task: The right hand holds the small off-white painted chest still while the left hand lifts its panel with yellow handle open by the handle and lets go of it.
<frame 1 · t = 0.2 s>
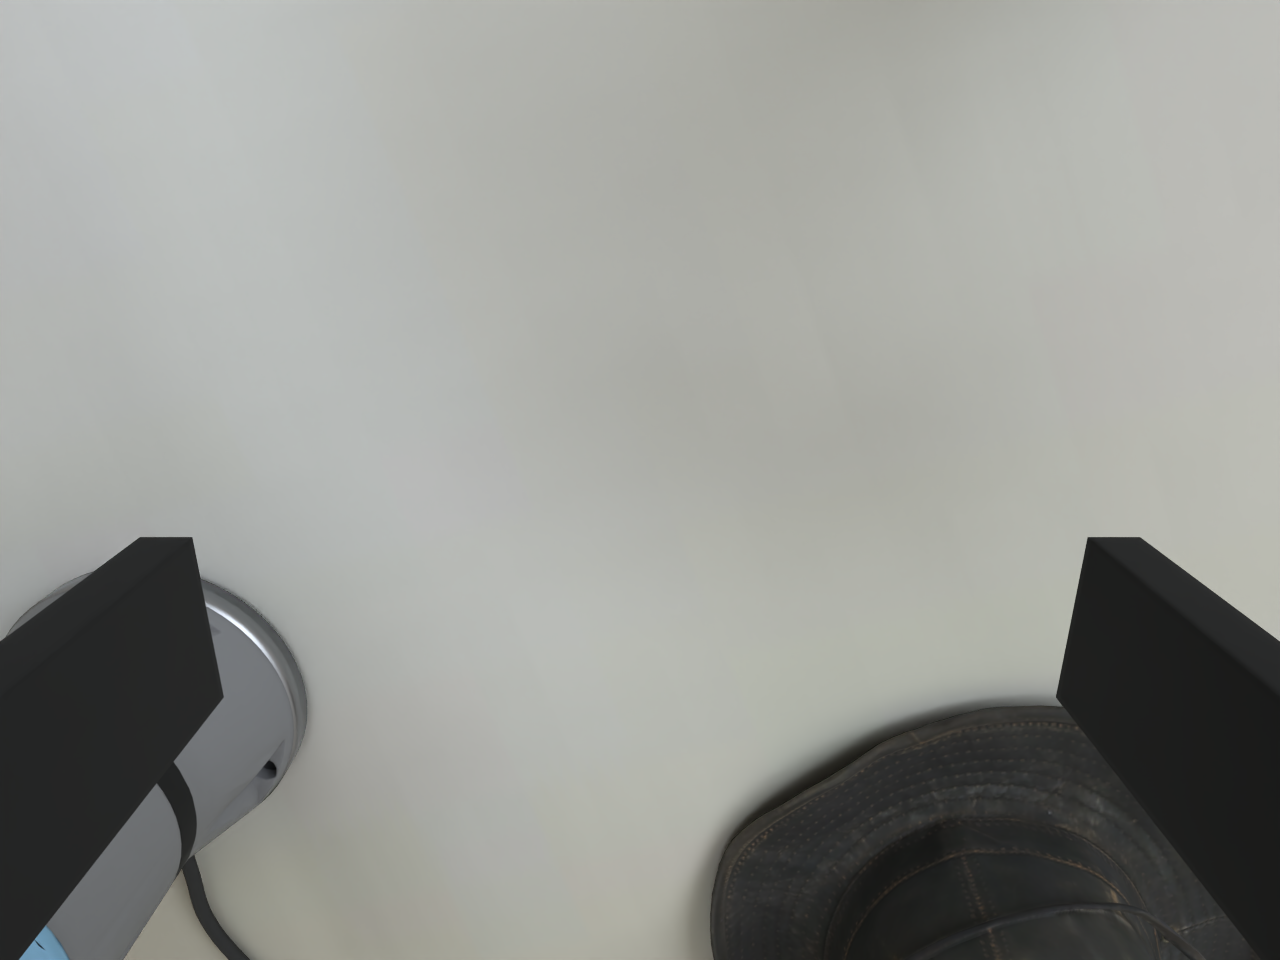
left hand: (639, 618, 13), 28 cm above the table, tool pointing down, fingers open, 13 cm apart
hat: (976, 939, 52), on the table
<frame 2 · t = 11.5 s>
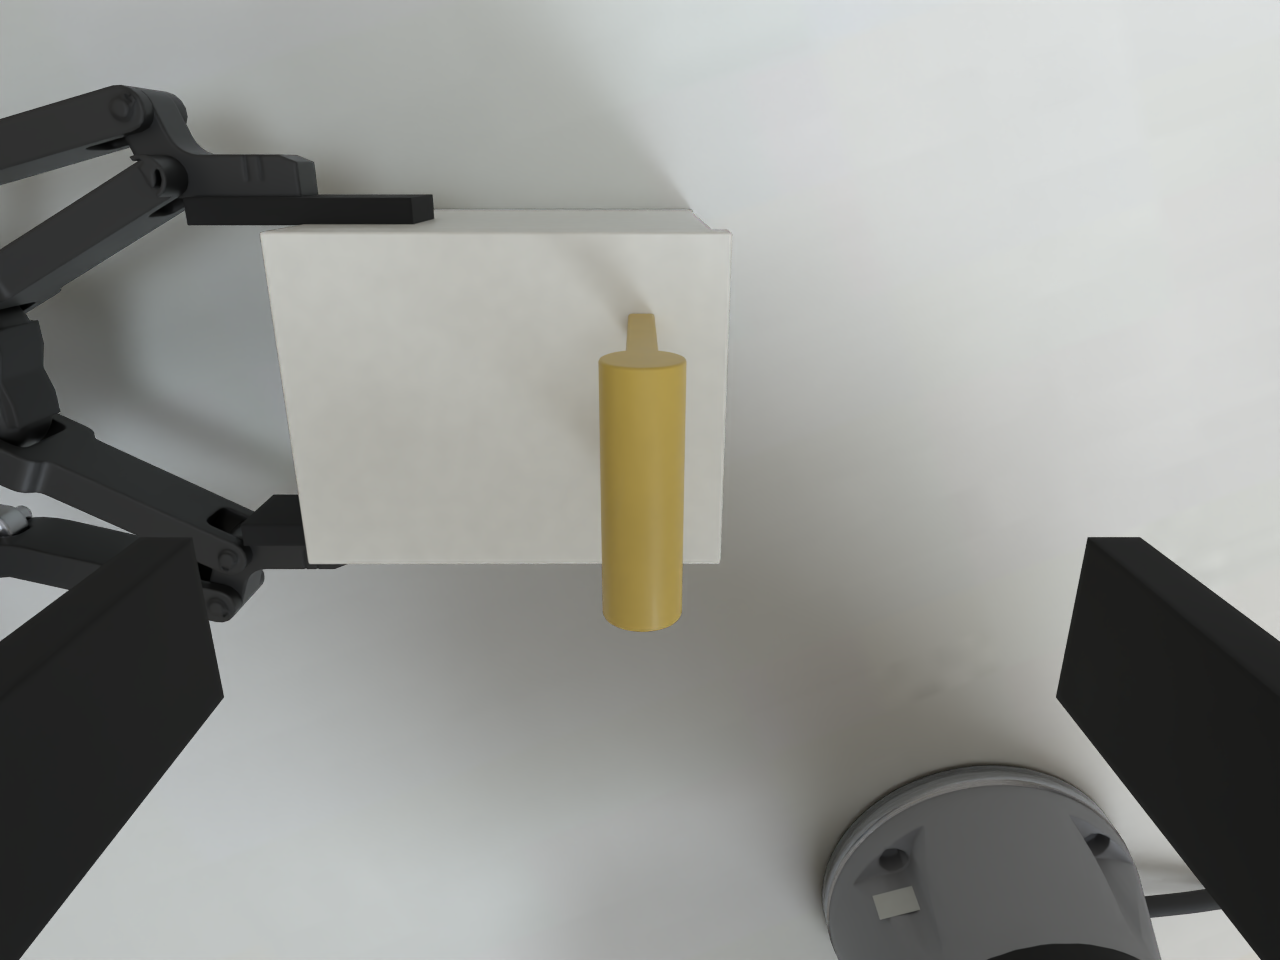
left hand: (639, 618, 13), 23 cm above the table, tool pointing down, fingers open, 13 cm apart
chest: (542, 332, 34), on the table, touching right hand
panel with yellow handle: (486, 444, 21), point 15 cm above the table, hinge at 0.0°
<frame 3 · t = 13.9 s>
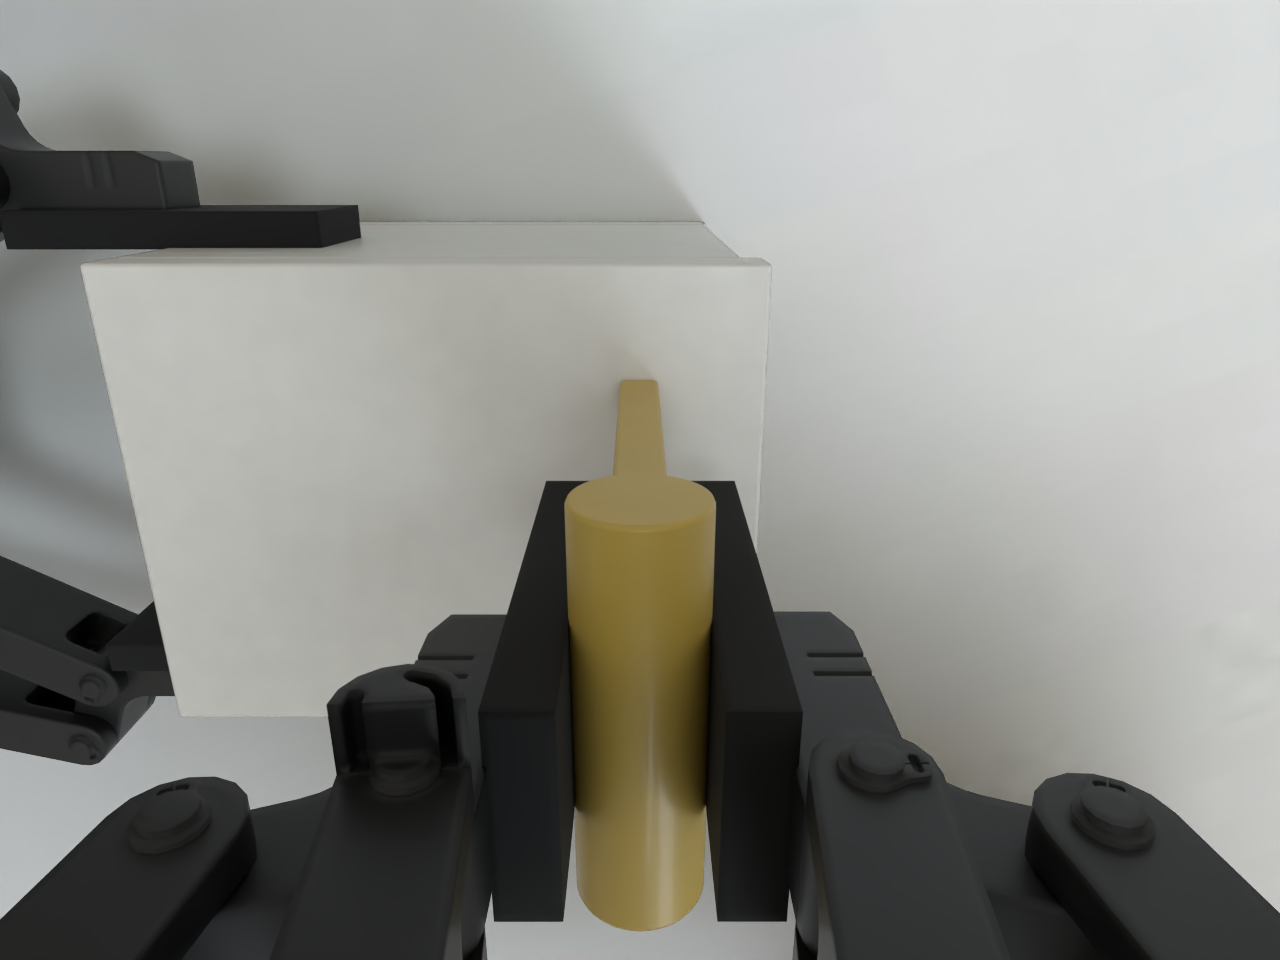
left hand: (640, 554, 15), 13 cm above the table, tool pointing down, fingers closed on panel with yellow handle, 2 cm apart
chest: (515, 375, 27), on the table, touching right hand
panel with yellow handle: (406, 586, 14), point 15 cm above the table, hinge at -0.1°, touching left hand
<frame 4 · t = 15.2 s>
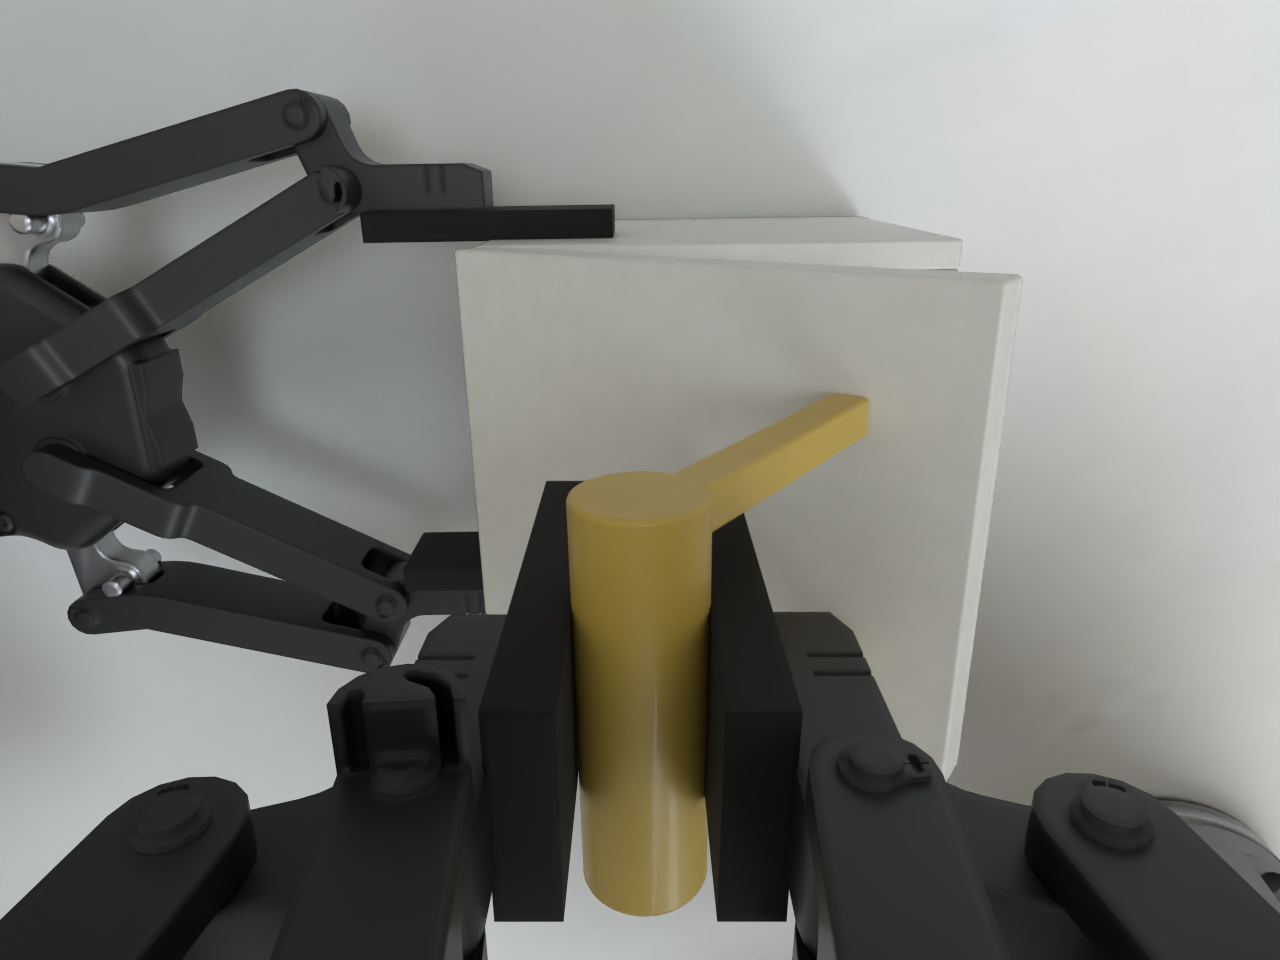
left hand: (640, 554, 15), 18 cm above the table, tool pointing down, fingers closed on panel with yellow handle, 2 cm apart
right hand: (617, 400, 25), fingers closed on chest, 9 cm apart
chest: (693, 351, 32), on the table, touching right hand
panel with yellow handle: (578, 544, 15), point 17 cm above the table, hinge at 35.6°, touching left hand
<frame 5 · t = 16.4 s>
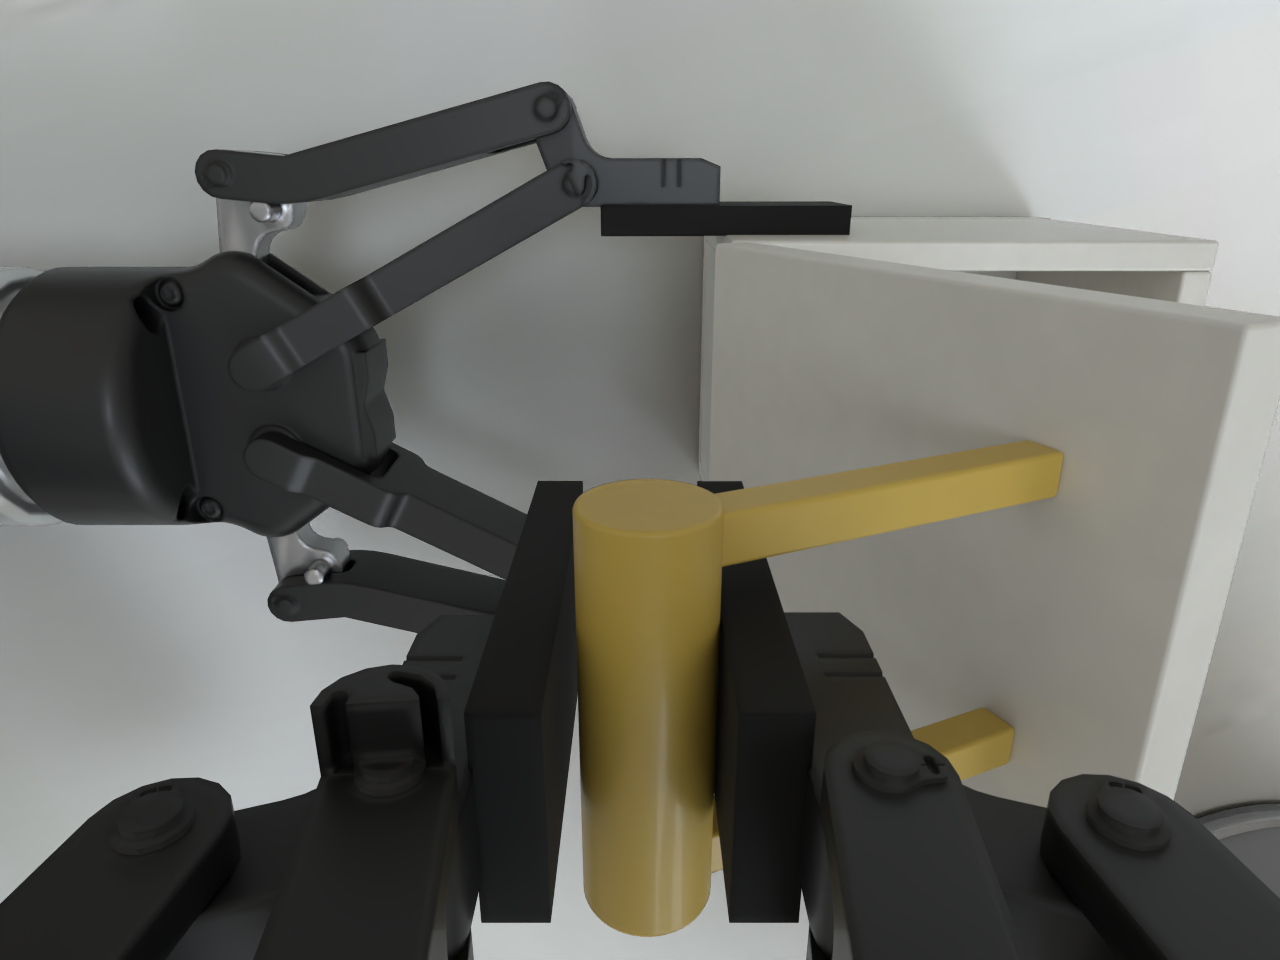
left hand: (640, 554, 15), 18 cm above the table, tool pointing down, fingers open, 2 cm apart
right hand: (825, 396, 25), fingers closed on chest, 9 cm apart
chest: (858, 349, 32), on the table, touching right hand
panel with yellow handle: (722, 551, 15), point 18 cm above the table, hinge at 64.7°
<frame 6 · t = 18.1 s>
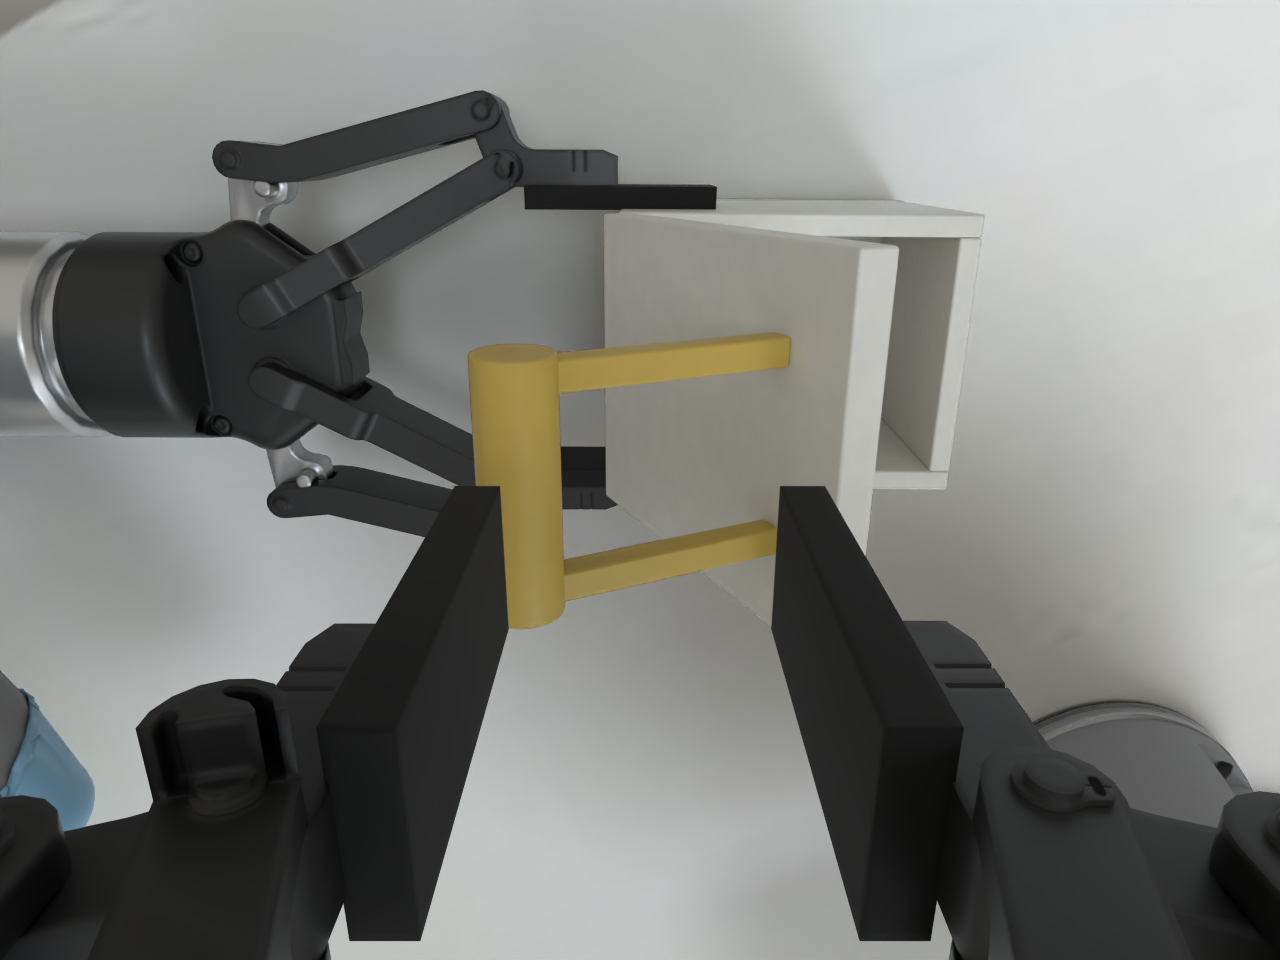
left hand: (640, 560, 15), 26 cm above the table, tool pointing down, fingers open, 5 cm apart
right hand: (708, 339, 32), fingers closed on chest, 9 cm apart
chest: (755, 309, 39), on the table, touching right hand
panel with yellow handle: (591, 421, 22), point 18 cm above the table, hinge at 62.9°
when the right hand's fingers open (7 cm above the table, at t = 20.2 s): chest stays where it is, on the table.
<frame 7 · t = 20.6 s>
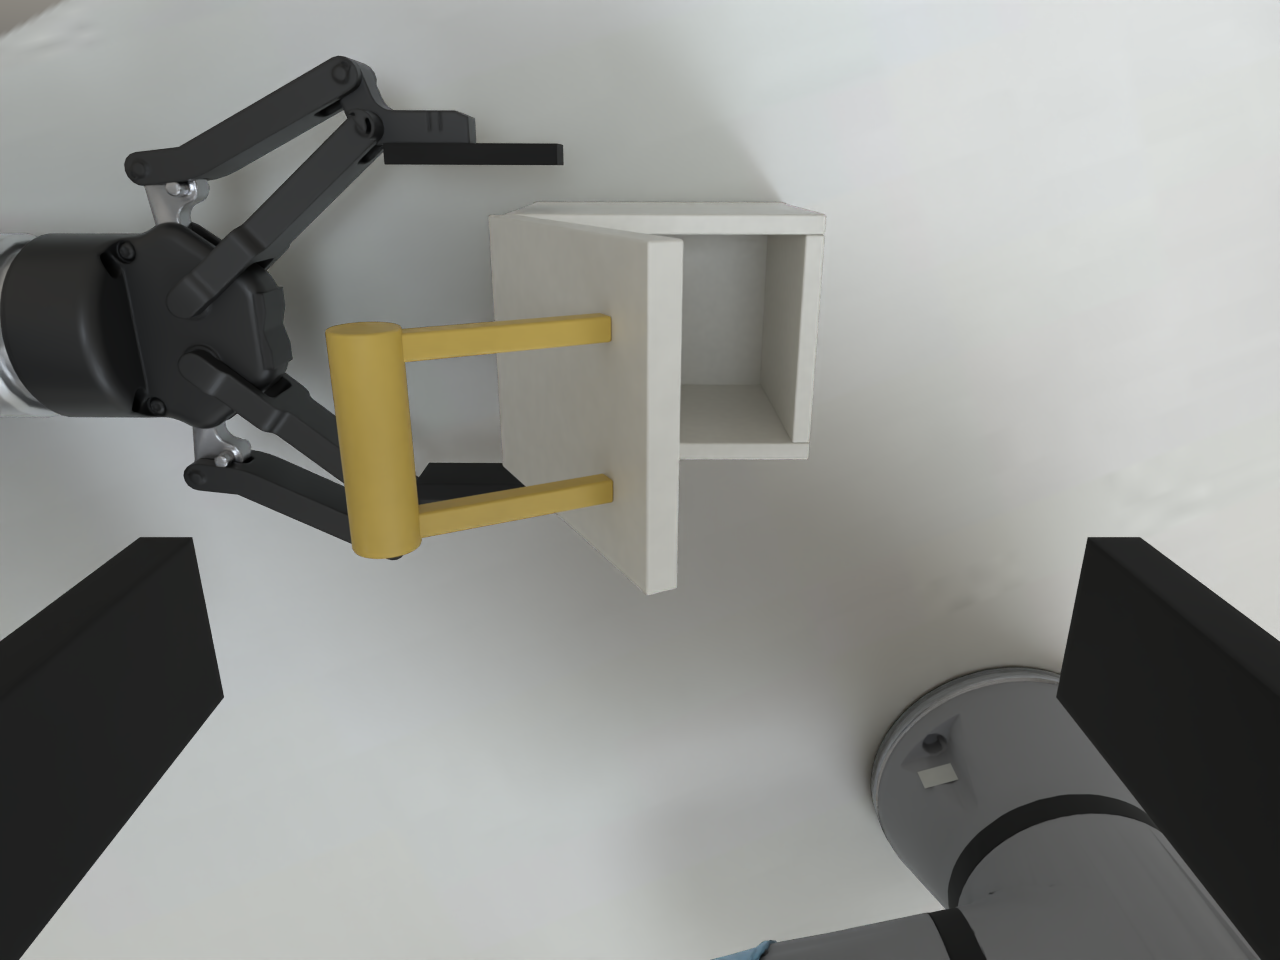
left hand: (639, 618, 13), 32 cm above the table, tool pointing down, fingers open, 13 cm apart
right hand: (566, 328, 36), fingers open, 13 cm apart
chest: (658, 302, 42), on the table
panel with yellow handle: (460, 392, 25), point 18 cm above the table, hinge at 62.6°
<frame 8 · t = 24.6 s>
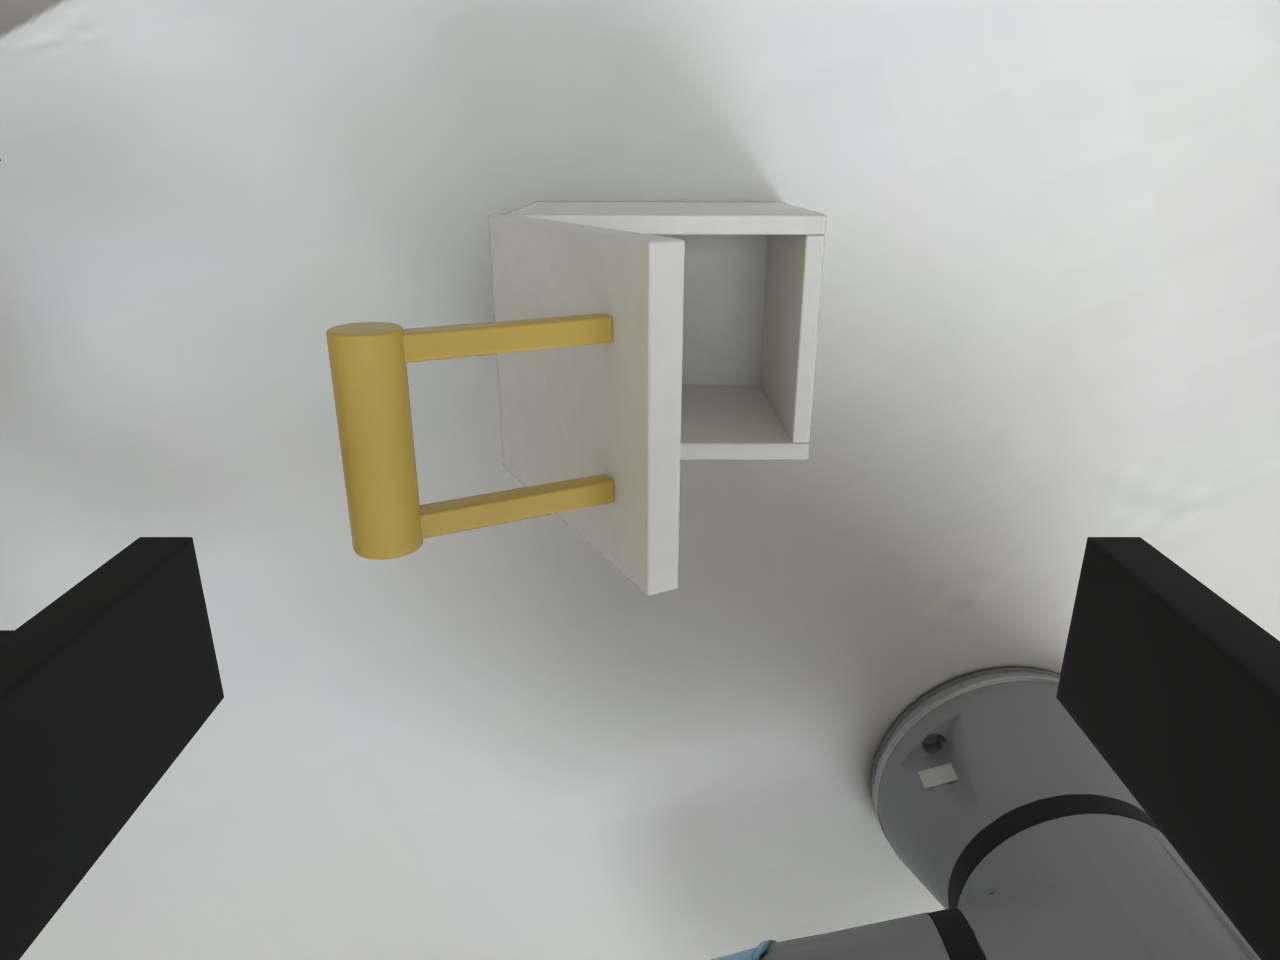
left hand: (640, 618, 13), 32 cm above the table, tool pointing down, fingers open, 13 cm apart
chest: (658, 302, 42), on the table
panel with yellow handle: (461, 393, 25), point 18 cm above the table, hinge at 62.6°
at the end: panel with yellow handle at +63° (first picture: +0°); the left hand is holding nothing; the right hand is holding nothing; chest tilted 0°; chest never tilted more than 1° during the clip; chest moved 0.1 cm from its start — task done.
